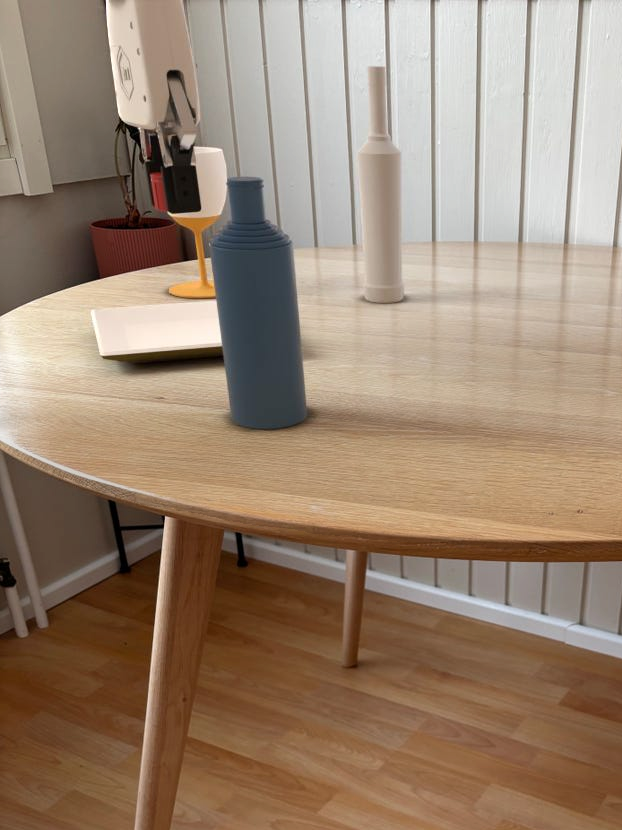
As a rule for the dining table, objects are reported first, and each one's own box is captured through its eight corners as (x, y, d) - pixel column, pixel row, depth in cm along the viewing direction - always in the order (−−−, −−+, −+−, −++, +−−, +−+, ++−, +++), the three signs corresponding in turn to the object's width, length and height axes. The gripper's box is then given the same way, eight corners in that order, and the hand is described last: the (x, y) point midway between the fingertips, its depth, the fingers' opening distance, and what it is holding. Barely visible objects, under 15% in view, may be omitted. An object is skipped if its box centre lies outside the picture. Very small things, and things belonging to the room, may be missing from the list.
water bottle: (240, 433, 77) (209, 185, 67) (224, 409, 82) (193, 174, 72) (316, 423, 79) (297, 182, 69) (296, 400, 84) (275, 172, 74)
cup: (247, 283, 124) (232, 147, 116) (234, 299, 117) (217, 154, 108) (178, 282, 124) (157, 145, 115) (160, 298, 116) (138, 153, 108)
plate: (93, 327, 104) (89, 308, 103) (262, 315, 110) (260, 296, 109) (104, 375, 89) (99, 353, 88) (297, 357, 96) (295, 337, 94)
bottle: (402, 293, 121) (397, 66, 107) (406, 302, 116) (401, 67, 103) (362, 294, 120) (351, 65, 106) (365, 303, 116) (354, 66, 102)
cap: (179, 213, 89) (174, 177, 87) (146, 210, 90) (141, 174, 89) (206, 208, 92) (201, 173, 90) (174, 205, 93) (169, 170, 92)
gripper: (71, -20, 85) (112, 200, 95) (128, -27, 74) (167, 225, 84) (153, -17, 89) (184, 195, 99) (219, -23, 77) (246, 218, 87)
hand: (176, 206), depth 91 cm, fingers closed on cap, 3 cm apart
